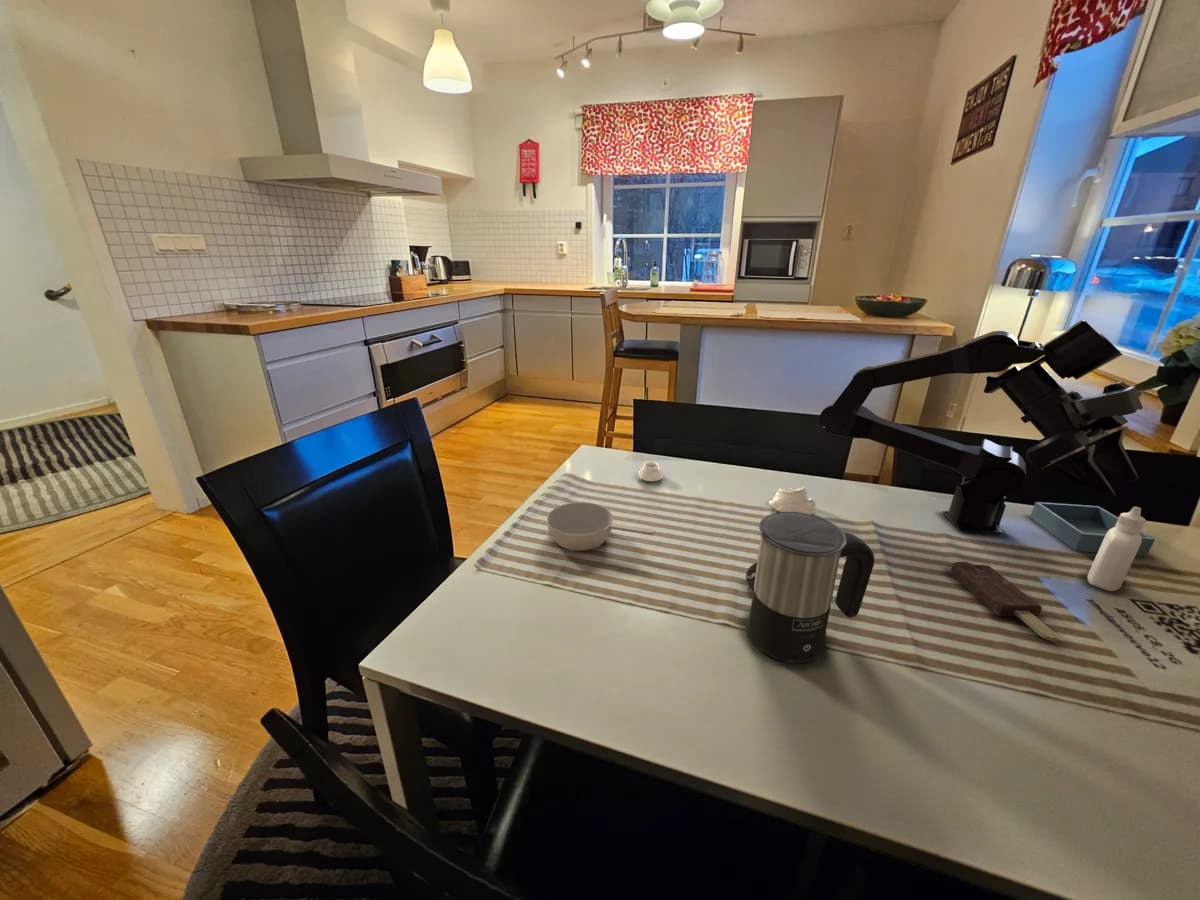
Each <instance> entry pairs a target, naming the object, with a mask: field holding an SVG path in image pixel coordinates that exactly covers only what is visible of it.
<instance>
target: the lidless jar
mask: <svg viewBox="0 0 1200 900" xmlns="http://www.w3.org/2000/svg"><path fill="white" fill-rule="evenodd" d="M663 477H664V476H663V472H662V469H661V468H660V466H659V463H657V462H654V461H646V462H645V463H643V466H641V468H640V470H639V471H638V478H640V479H641V480H643V481H646V482H656V481H660V480H662V479H663Z"/></svg>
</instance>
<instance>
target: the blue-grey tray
mask: <svg viewBox="0 0 1200 900" xmlns="http://www.w3.org/2000/svg"><path fill="white" fill-rule="evenodd" d="M1029 518H1030V519H1031V520H1033V521H1034V522H1036V524H1038V525H1040V527H1042V528H1043V529H1045V530H1046V531H1048V532H1049V533H1051V534H1052V535H1053V536H1055V537H1056V539H1058V540H1060V541H1061V542H1062V543H1064V544H1066V546H1068V547H1069V548H1071V549H1072V550H1074V551H1076V552H1088V553H1098V551H1099V549H1100V546H1101V544H1102V542H1103V540H1104V537H1105V535H1106V533H1107V532H1108V531H1109V530H1110V529H1111V528H1114V527H1115V525H1116V523H1117V521H1118V518H1119V517H1118V516H1116V515H1114V514H1113V513H1111V512H1110V511H1108V510H1106V509H1104V508H1103V507H1101V506H1099V505H1087V504H1086V505H1085V504H1084V505H1083V504H1073V503H1071V504H1070V503H1057V502H1056V503H1055V502H1043V501H1035V503H1034V505H1033V507H1032V510H1031V513H1030V515H1029ZM1139 534H1140V536H1141V539H1142V542H1141V545H1140V547H1139V549H1138V551H1137V553H1136V555H1135V557H1137V556H1138V557H1148V555H1149V553H1150V551H1151V549H1152V546H1153V545H1154V542H1155V541H1156V539H1155V538H1153V537H1151V536H1150V535H1148V534H1147V533H1146V532H1143V531H1142V530H1141V532H1140V533H1139Z"/></svg>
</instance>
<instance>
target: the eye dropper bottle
mask: <svg viewBox="0 0 1200 900" xmlns="http://www.w3.org/2000/svg"><path fill="white" fill-rule="evenodd" d="M1141 511H1142V508H1141V507H1139V506H1133V507H1132V508H1131V509H1130V510H1129V511H1128V512H1121V513H1120V514H1119V517H1118V521H1117V523H1116V525H1115V527H1114V528H1111V529H1110V530H1109V531H1108V532H1107V533H1106V535H1105V537H1104V540H1103V542H1102V544H1101V546H1100V549H1099V551H1098V552H1096V555H1095V558H1094V560H1093V562H1092V565H1091V567H1090V569H1089V571H1088V574H1087V581H1088V583H1089V584H1090V585H1091V586H1093V587H1095V588H1098V589H1101V590H1104V591H1106V592H1107V591H1108V592H1115V591H1117V590H1119V589H1120V588H1121V587H1122V584H1123V583H1124V581H1125V579H1126V577H1127V574H1128V572H1129V571H1130V568H1131V567H1132V564H1133V562H1134V559H1135V558H1136V556H1135V555H1136V553H1137V551H1138V549H1139V547H1140V545H1141V542H1142V539H1141V536H1140V534H1139V533H1140V532H1141V531H1142V530H1143V528H1144V526H1145V524H1146V521H1147V519H1146V518H1145V517H1143V516H1142V515H1141Z"/></svg>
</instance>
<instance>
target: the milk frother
mask: <svg viewBox="0 0 1200 900" xmlns="http://www.w3.org/2000/svg"><path fill="white" fill-rule="evenodd" d="M758 525H759V526H758V528H759V529H758V530H759V531H760V538H759V545H758V552H757V560H756V562H754V563H753V564H752V565H750V566H749V567H748V569H747V570H746V573H745V577H746V578H745V579H746V583H747V585H748V587H749V588H750V589H751V590H752V597H751V604H750V610H749V615H748V617H747V618H746V621H745V632H746V635H747V637H748V639H749V641H750V642H751V643H752V645H753V646H755V647H756V649H758V650H759V651H761V652H762V653H764V654H765V655H767V656H769V657H771V658H774V659H775V660H779V661H781V662H785V663H791V664H804V663H810V662H813V661H815V660H817V659H819V658H820V656H822V655H823V653H824V652H825V651H826V650H825V649H826V647H827V646H826V645H827V642H826V634H827V628H828V627H827V626H828V622H829V618H830V617H829V616H830V611H831V606H832V600H833V595H834V591H835V585H836V580H837V575H838V570H839V564H840V560H841V559H840V558H844V557H845V561H844V564H843V567H842V572H841V576H840V579H839V583H838V584H839V585H838V588H837V591H836V595H835V600H834V602H835V605H836V607H837V608H838V609H839V610H840V612H841V613H842V614H843V615H845V617H847V618H853V617H856V616H857V615H858V614H859V612H860V609H861V606H862V604H863V600H864V597H865V594H866V591H867V589H868V584H869V581H870V579H871V575H872V572H873V569H874V566H875V554H874V552H873V550H872V549H871V547H870V546H869V545H868V544H867V543H866V542H865V541H864V540H863V539H862V538H860V537H859V536H857V535H856V534H853V533H850V532H849V531H848V532H847V531H843V530H842V529H841V528H840V527H839V526H838V525H837V524H835V523H833V522H832V521H830V520H827V519H826V518H823V517H820V516H817V515H814V514H811V515H810V514H805V513H801V512H780V511H778V512H774V513H770V514H768V515H766V516H764V517H763V518H761V520H760V521H759V524H758Z"/></svg>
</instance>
